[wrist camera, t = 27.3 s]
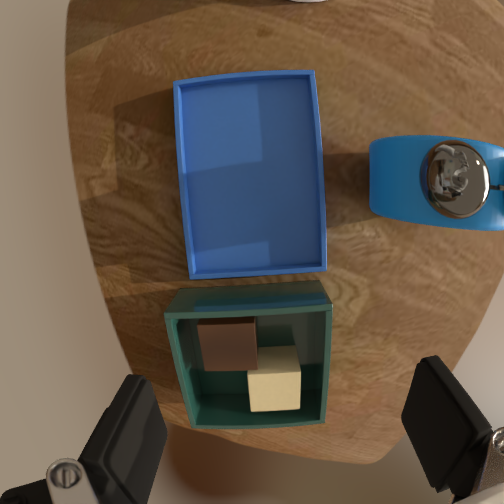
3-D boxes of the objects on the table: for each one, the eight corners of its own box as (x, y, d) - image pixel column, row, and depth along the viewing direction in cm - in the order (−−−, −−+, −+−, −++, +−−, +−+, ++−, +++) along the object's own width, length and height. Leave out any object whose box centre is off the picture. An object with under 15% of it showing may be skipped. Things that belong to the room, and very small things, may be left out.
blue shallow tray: (177, 86, 26) (172, 81, 24) (311, 75, 25) (314, 69, 24) (193, 274, 30) (189, 279, 29) (323, 266, 30) (326, 271, 28)
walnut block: (205, 302, 30) (196, 325, 25) (255, 300, 30) (254, 323, 25) (211, 344, 31) (204, 371, 27) (258, 342, 31) (258, 370, 26)
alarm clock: (349, 207, 28) (429, 236, 14) (349, 143, 27) (430, 117, 12) (454, 211, 28) (553, 238, 13) (455, 156, 26) (556, 155, 12)
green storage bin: (180, 288, 31) (163, 313, 25) (319, 279, 30) (333, 303, 24) (200, 394, 34) (191, 428, 28) (316, 389, 33) (324, 423, 27)
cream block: (248, 347, 31) (247, 374, 27) (295, 344, 31) (301, 371, 26) (251, 383, 33) (250, 411, 28) (295, 380, 32) (299, 409, 28)
